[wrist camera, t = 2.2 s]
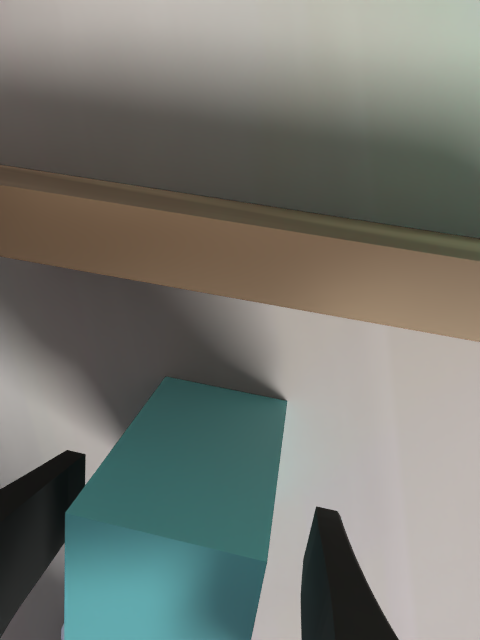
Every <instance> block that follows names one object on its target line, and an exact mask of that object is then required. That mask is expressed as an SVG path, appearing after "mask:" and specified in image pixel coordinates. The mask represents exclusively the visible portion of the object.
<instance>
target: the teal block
mask: <svg viewBox="0 0 480 640" xmlns="http://www.w3.org/2000/svg"><path fill="white" fill-rule="evenodd" d="M286 407H287V401H285V400H280V399H275V398H270V397H265V396H260V395H255V394H250V393H245V392H240V391H235V390H230V389H225V388H220V387H215V386H210V385H206V384H201V383H196V382H191V381H186V380H181V379H176V378H171V377H165V378H164V380H163V381H162V382H161V384H160V385H159V386H158V388H157V389H156V390H155V392H154V393H153V394H152V396H151V397H150V399H149V400H148V401H147V403H146V404H145V405H144V407H143V408H142V409H141V411H140V412H139V413H138V415H137V416H136V418H135V419H134V420H133V422H132V423H131V424H130V426H129V427H128V428H127V430H126V431H125V432H124V434H123V435H122V437H121V438H120V439H119V441H118V442H117V443H116V445H115V446H114V447H113V449H112V450H111V451H110V453H109V454H108V456H107V457H106V458H105V460H104V461H103V462H102V464H101V465H100V466H99V468H98V469H97V470H96V472H95V473H94V474H93V476H92V477H91V479H90V480H89V481H88V483H87V484H86V485H85V487H84V488H83V489H82V491H81V492H80V493H79V495H78V496H77V498H76V499H75V500H74V502H73V503H72V504H71V506H70V507H69V508H68V510H67V511H66V512H65V601H64V640H251V637H252V632H253V627H254V622H255V617H256V613H257V608H258V603H259V598H260V593H261V588H262V584H263V579H264V574H265V569H266V564H267V558H268V550H269V542H270V534H271V526H272V518H273V510H274V502H275V494H276V486H277V478H278V471H279V463H280V455H281V447H282V439H283V431H284V423H285V415H286Z"/></svg>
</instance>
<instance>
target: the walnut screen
mask: <svg viewBox="0 0 480 640" xmlns="http://www.w3.org/2000/svg"><path fill="white" fill-rule="evenodd" d="M0 256H1V257H7V258H12V259H18V260H23V261H29V262H35V263H40V264H46V265H51V266H57V267H63V268H68V269H74V270H79V271H85V272H91V273H96V274H102V275H107V276H113V277H119V278H124V279H130V280H135V281H141V282H147V283H152V284H158V285H163V286H169V287H175V288H180V289H186V290H191V291H197V292H203V293H208V294H214V295H219V296H225V297H231V298H236V299H242V300H247V301H253V302H259V303H264V304H270V305H276V306H281V307H287V308H292V309H298V310H304V311H309V312H315V313H320V314H326V315H332V316H337V317H343V318H348V319H354V320H360V321H365V322H371V323H376V324H382V325H388V326H393V327H399V328H404V329H410V330H416V331H421V332H427V333H432V334H438V335H444V336H449V337H455V338H460V339H466V340H472V341H477V342H480V239H478V238H472V237H465V236H459V235H452V234H446V233H439V232H433V231H426V230H420V229H413V228H407V227H401V226H394V225H388V224H381V223H375V222H368V221H362V220H355V219H349V218H342V217H336V216H329V215H323V214H316V213H310V212H303V211H297V210H290V209H284V208H277V207H271V206H264V205H258V204H251V203H245V202H238V201H232V200H225V199H219V198H213V197H206V196H200V195H193V194H187V193H180V192H174V191H167V190H161V189H154V188H148V187H141V186H135V185H128V184H122V183H115V182H109V181H102V180H96V179H89V178H83V177H76V176H70V175H63V174H57V173H50V172H44V171H37V170H31V169H25V168H18V167H12V166H5V165H0Z"/></svg>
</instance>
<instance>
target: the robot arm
mask: <svg viewBox="0 0 480 640" xmlns="http://www.w3.org/2000/svg"><path fill="white" fill-rule="evenodd" d="M84 487H85V454H82V453H78V452H73V451H69V450H67V451H65V452H63V453H61V454H60V455H58V456H56V457H54V458H53V459H51V460H49V461H48V462H46V463H44V464H43V465H41V466H40V467H38V468H36V469H35V470H33V471H31V472H29V473H28V474H26V475H24V476H23V477H21V478H19V479H17V480H16V481H14V482H12V483H11V484H9V485H7V486H5V487H4V488H2V489H0V638H1V636H2V634H3V633H4V631H5V629H6V628H7V626H8V624H9V622H10V621H11V619H12V618H13V616H14V615H15V613H16V612H17V610H18V608H19V607H20V605H21V604H22V603H23V601H24V600H25V598H26V597H27V595H28V594H29V593H30V591H31V590H32V588H33V587H34V586H35V584H36V583H37V581H38V580H39V578H40V577H41V576H42V574H43V573H44V571H45V570H46V568H47V567H48V566H49V564H50V563H51V561H52V560H53V558H54V557H55V556H56V554H57V553H58V551H59V550H60V548H61V547H62V545H63V544H64V543H65V512H66V511H67V510H68V508H69V507H70V506H71V504H72V503H73V502H74V500H75V499H76V498H77V496H78V495H79V493H80V492H81V491H82V489H83V488H84ZM301 629H302V640H399V639H398V638H397V636H396V634H395V633H394V631H393V629H392V628H391V626H390V624H389V623H388V621H387V619H386V617H385V616H384V614H383V612H382V610H381V608H380V606H379V605H378V603H377V601H376V599H375V597H374V595H373V593H372V591H371V589H370V587H369V585H368V583H367V581H366V579H365V577H364V574H363V572H362V570H361V568H360V566H359V564H358V561H357V559H356V557H355V554H354V552H353V550H352V547H351V545H350V542H349V540H348V537H347V534H346V532H345V529H344V526H343V523H342V520H341V517H340V515H339V513H338V512H337V511H334V510H330V509H325V508H321V507H316V510H315V514H314V518H313V522H312V526H311V530H310V534H309V539H308V543H307V547H306V551H305V555H304V559H303V572H302V585H301ZM61 640H64V624H63V626H62V628H61Z"/></svg>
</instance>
